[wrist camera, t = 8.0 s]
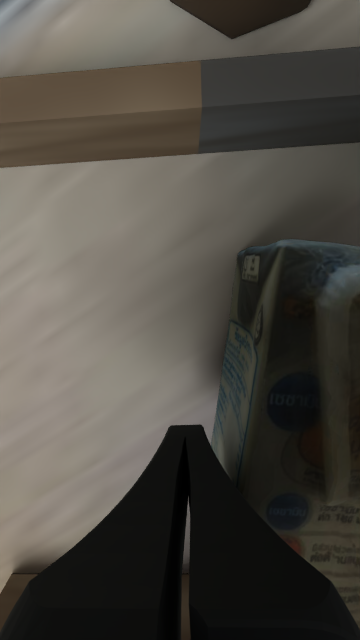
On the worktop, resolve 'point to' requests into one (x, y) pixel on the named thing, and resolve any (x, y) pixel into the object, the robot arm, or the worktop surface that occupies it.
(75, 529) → the worktop surface
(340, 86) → the tray
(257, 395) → the beverage carton
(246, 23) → the beer bottle
